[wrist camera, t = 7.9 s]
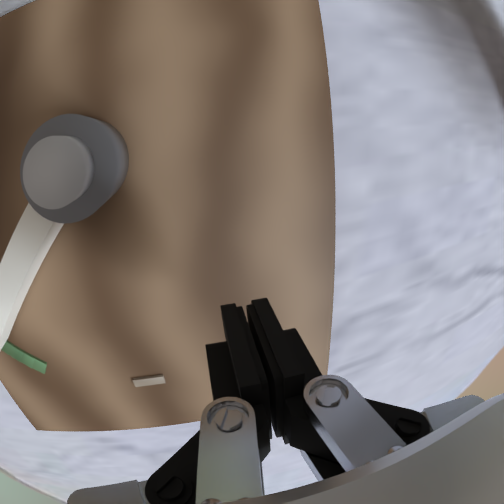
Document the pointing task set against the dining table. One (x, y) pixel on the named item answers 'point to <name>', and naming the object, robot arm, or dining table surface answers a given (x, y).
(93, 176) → the dial needle
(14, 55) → the dial plate
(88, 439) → the dining table surface
